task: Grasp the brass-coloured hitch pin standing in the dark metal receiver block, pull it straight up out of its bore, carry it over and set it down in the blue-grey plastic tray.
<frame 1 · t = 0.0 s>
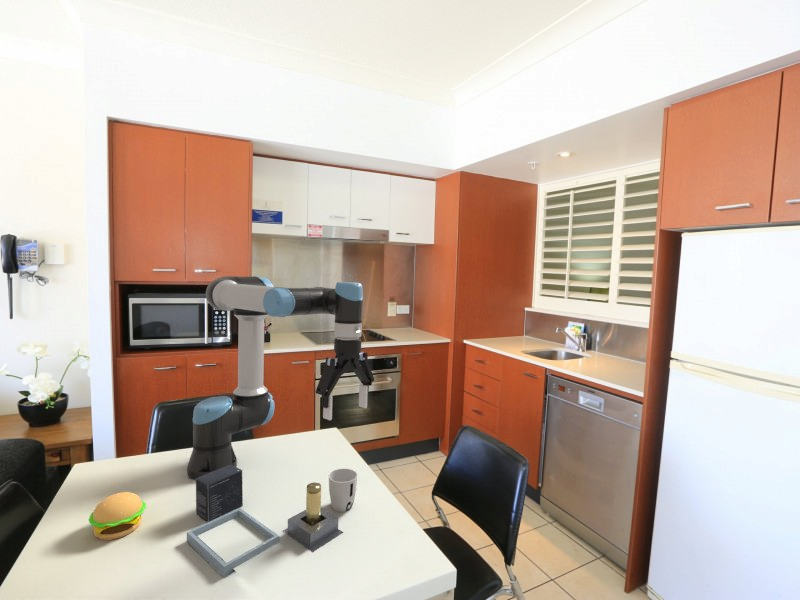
hand: (345, 412, 115), 28 cm above the table, fingers open, 13 cm apart
box: (219, 510, 114), on the table
hamburger: (118, 529, 104), on the table
tray: (232, 543, 100), on the table
cup: (342, 509, 116), on the table
receiver block: (312, 535, 104), on the table
pin: (313, 531, 104), point 1 cm above the table, touching receiver block
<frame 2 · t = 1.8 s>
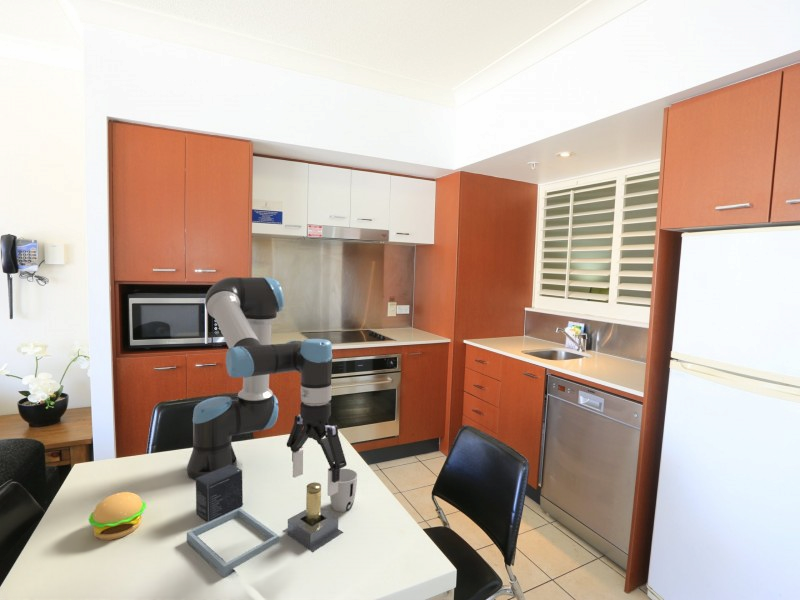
hand: (314, 484, 103), 14 cm above the table, fingers open, 13 cm apart
nothing on the table moved.
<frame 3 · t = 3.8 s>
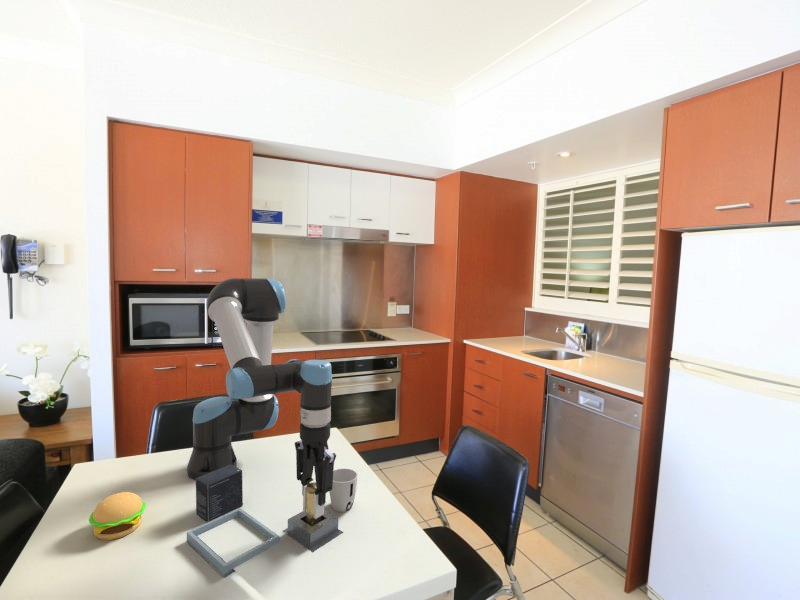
hand: (313, 512, 104), 6 cm above the table, fingers closed on pin, 4 cm apart
pin: (313, 531, 104), point 1 cm above the table, touching gripper
everything else where it was.
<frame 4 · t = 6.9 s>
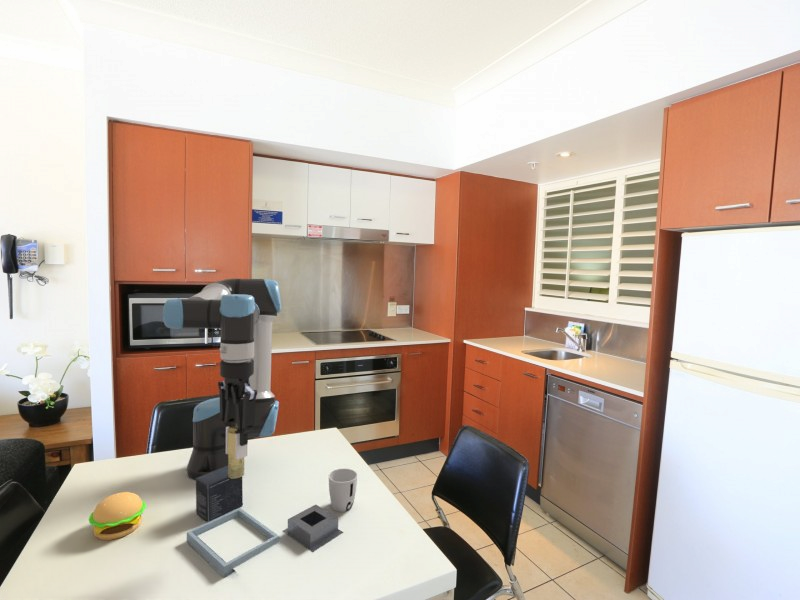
hand: (236, 454, 99), 22 cm above the table, fingers closed on pin, 4 cm apart
pin: (236, 474, 99), point 17 cm above the table, touching gripper
everything else where it was.
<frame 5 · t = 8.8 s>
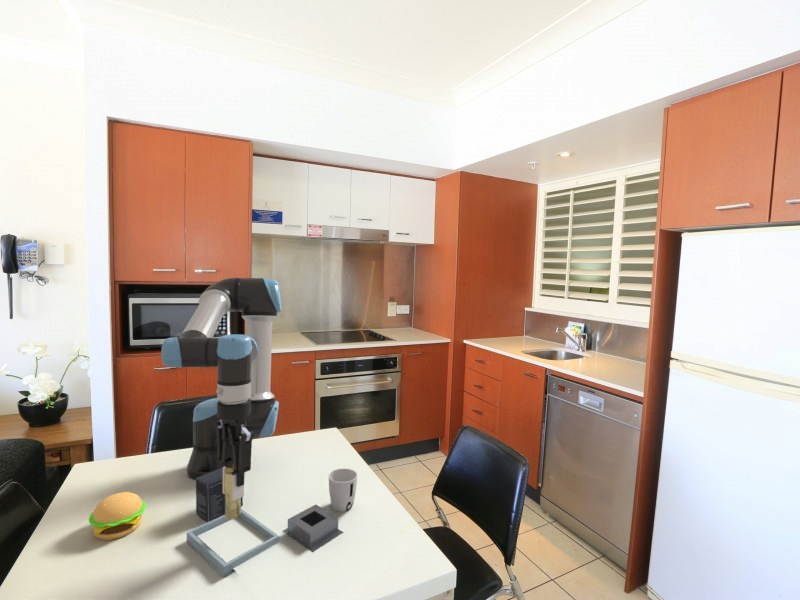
hand: (233, 494, 99), 13 cm above the table, fingers closed on pin, 4 cm apart
pin: (232, 514, 99), point 8 cm above the table, touching gripper
everything else where it was.
when the fingers open (7 cm above the table, at t = 10.5 s): pin stays where it is, resting on tray.
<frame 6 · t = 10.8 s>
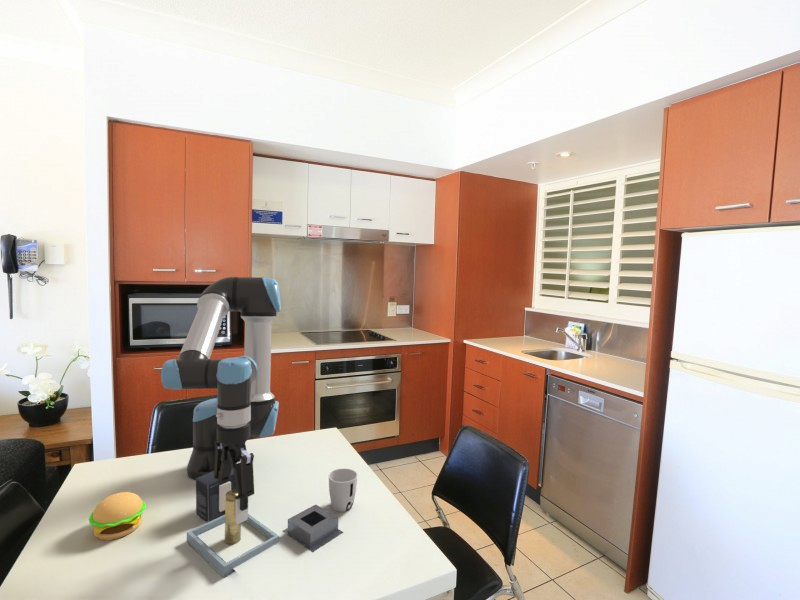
hand: (233, 514, 100), 7 cm above the table, fingers open, 7 cm apart
pin: (232, 540, 100), point 1 cm above the table, touching tray
everything else where it was.
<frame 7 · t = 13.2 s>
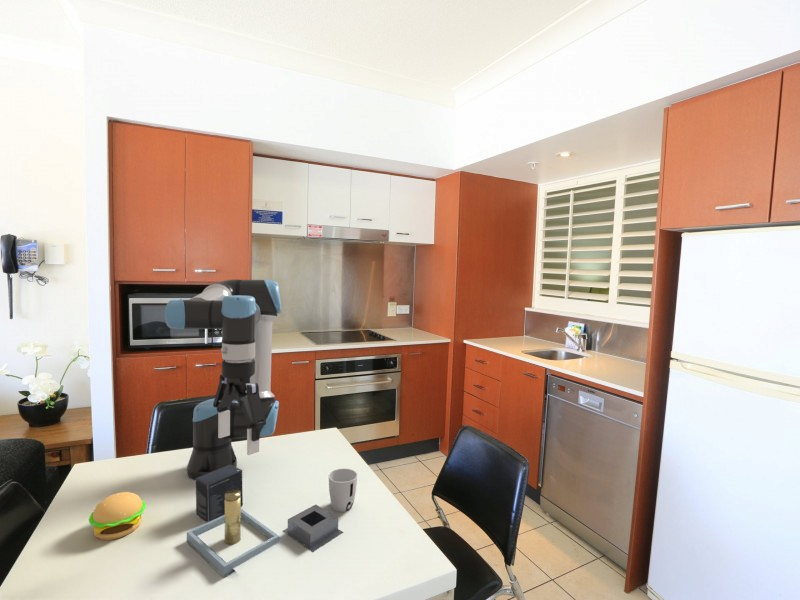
hand: (237, 444, 101), 24 cm above the table, fingers open, 13 cm apart
nothing on the table moved.
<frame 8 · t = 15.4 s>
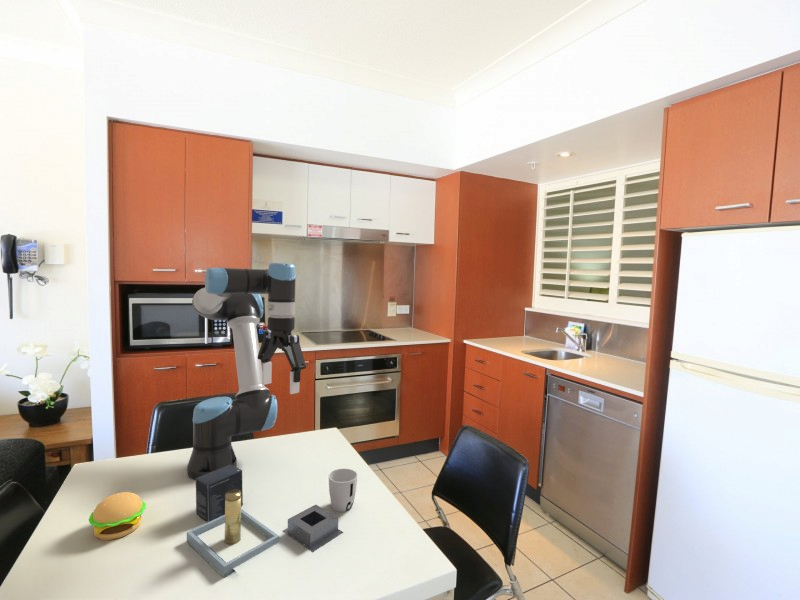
hand: (280, 388, 120), 33 cm above the table, fingers open, 13 cm apart
nothing on the table moved.
at the end: pin inside the target area on the tray (0.1 cm from its centre), point 0.8 cm above the tray's base; the gripper is holding nothing; pin touching tray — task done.
